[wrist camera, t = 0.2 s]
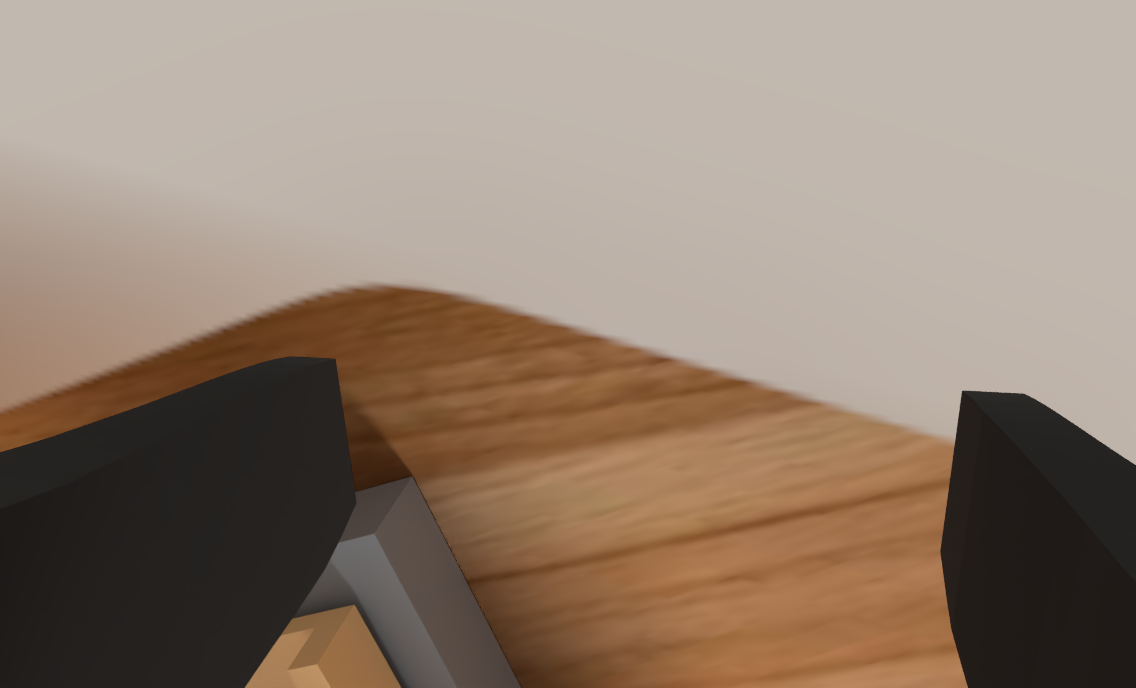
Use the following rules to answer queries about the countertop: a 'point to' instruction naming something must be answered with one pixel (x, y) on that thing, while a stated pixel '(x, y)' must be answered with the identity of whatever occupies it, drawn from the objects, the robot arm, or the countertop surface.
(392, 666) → the socket plate
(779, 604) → the countertop surface
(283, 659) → the panel
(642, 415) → the countertop surface
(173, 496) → the robot arm
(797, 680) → the countertop surface
